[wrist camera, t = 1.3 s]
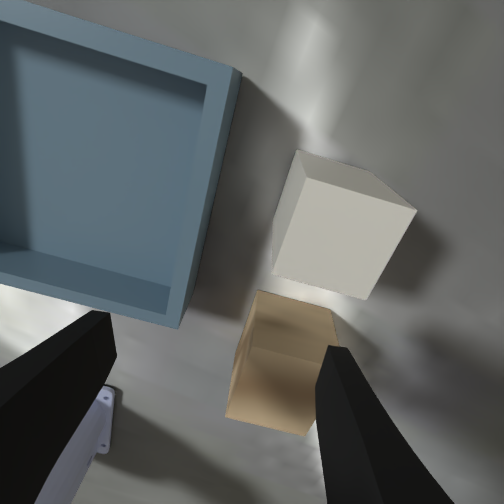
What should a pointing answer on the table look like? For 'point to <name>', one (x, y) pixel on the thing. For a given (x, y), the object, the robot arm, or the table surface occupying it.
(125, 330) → the table surface
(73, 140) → the tote
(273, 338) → the oak block
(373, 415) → the robot arm
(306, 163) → the cream carton
